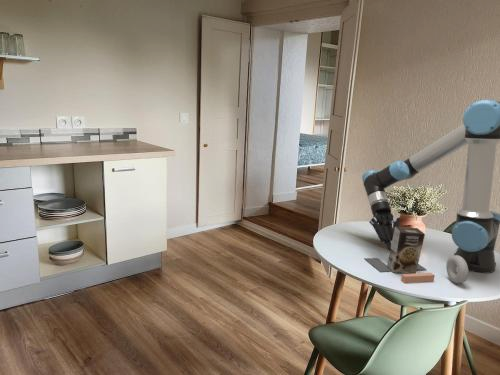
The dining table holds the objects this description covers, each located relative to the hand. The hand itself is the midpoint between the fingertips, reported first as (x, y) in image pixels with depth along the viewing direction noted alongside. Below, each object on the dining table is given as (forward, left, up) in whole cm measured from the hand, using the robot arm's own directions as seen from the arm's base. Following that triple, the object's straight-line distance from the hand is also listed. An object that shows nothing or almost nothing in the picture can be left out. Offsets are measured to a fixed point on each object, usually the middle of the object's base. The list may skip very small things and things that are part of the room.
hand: (396, 257), depth 152 cm
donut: (-14, +15, -3) cm, 21 cm away
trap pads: (0, -1, -3) cm, 3 cm away
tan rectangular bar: (0, +13, -3) cm, 14 cm away
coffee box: (0, +4, -3) cm, 5 cm away
